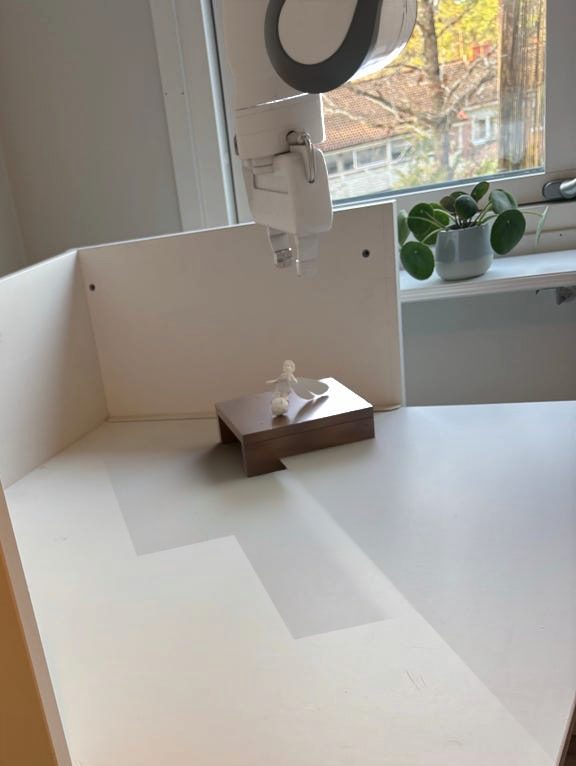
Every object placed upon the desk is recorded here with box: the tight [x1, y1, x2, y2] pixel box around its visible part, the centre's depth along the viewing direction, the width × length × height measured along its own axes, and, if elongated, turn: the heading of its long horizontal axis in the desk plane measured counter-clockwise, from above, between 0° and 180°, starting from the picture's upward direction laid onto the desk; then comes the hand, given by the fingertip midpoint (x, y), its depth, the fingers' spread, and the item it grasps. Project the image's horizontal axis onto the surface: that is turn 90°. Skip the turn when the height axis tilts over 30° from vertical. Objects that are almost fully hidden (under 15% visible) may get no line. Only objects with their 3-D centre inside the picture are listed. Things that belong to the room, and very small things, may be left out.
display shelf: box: [214, 376, 376, 478], centre depth 115 cm, size 15×15×5 cm
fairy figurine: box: [265, 359, 329, 416], centre depth 113 cm, size 6×7×7 cm
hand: (295, 271), depth 105 cm, fingers open, 8 cm apart
